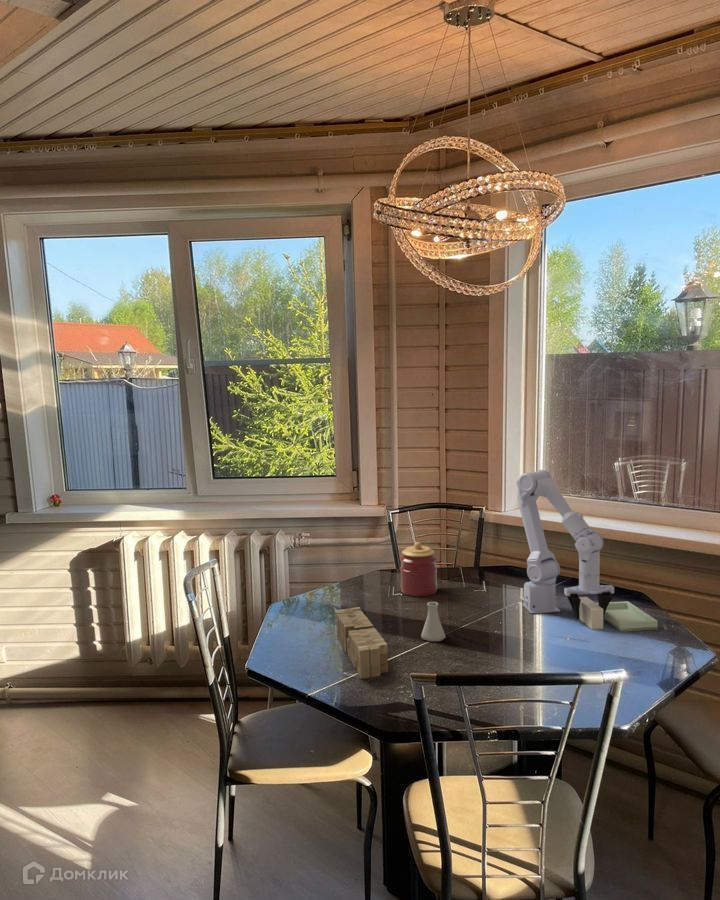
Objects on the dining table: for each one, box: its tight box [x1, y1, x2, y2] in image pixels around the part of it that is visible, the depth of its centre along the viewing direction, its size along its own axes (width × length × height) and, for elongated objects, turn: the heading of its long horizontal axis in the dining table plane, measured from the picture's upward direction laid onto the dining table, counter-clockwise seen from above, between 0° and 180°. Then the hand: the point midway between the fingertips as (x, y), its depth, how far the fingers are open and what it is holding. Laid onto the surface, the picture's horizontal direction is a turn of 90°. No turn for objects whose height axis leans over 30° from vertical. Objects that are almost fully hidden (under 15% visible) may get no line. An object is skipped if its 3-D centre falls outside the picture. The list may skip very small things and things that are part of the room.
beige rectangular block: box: [578, 596, 604, 630], centre depth 188 cm, size 4×11×6 cm, turn 5°
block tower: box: [334, 606, 389, 679], centre depth 171 cm, size 8×8×29 cm
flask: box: [420, 601, 447, 642], centre depth 180 cm, size 7×7×10 cm
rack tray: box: [596, 600, 659, 633], centre depth 189 cm, size 11×17×2 cm, turn 5°
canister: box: [399, 541, 438, 597], centre depth 221 cm, size 13×13×18 cm
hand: (589, 617), depth 188 cm, fingers open, 7 cm apart
